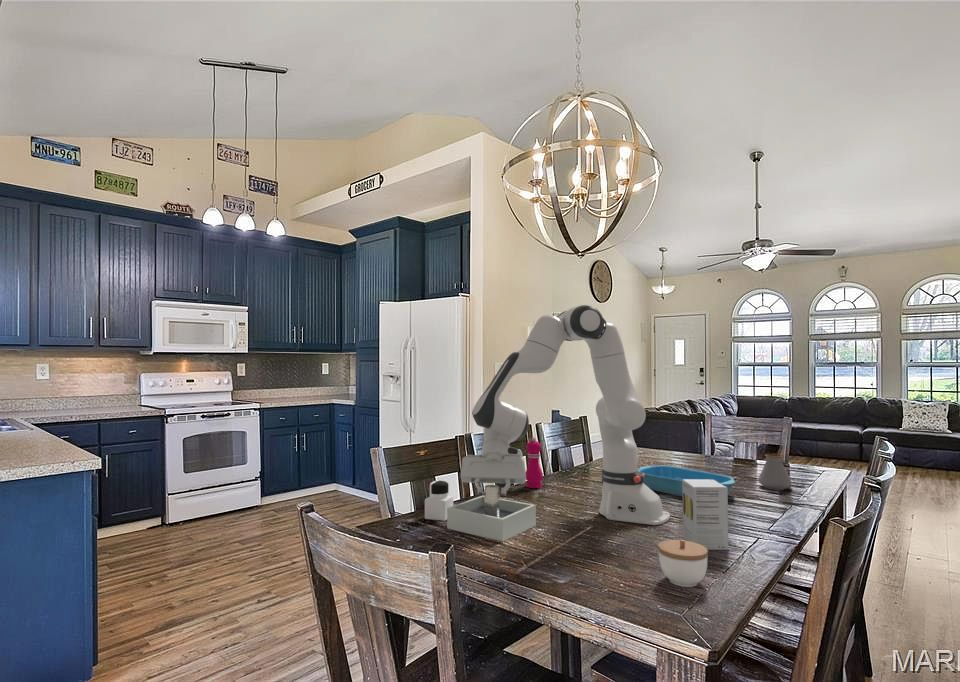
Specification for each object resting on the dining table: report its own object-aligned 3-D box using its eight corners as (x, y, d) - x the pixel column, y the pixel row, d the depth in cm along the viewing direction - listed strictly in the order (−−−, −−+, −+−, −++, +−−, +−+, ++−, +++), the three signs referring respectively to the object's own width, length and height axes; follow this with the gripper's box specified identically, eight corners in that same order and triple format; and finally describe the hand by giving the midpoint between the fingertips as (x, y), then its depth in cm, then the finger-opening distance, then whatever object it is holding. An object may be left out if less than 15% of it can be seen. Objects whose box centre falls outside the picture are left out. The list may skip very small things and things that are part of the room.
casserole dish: (746, 495, 199) (745, 476, 199) (718, 506, 184) (718, 486, 184) (656, 479, 227) (656, 462, 227) (626, 488, 212) (626, 470, 212)
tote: (536, 528, 161) (535, 505, 161) (503, 545, 146) (502, 519, 147) (482, 517, 173) (482, 495, 173) (447, 531, 158) (447, 508, 158)
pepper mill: (542, 489, 209) (541, 438, 210) (524, 488, 210) (523, 438, 211) (543, 485, 216) (543, 436, 217) (526, 484, 217) (525, 435, 218)
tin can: (502, 516, 160) (502, 486, 160) (494, 519, 156) (493, 488, 157) (490, 513, 163) (490, 484, 163) (481, 517, 159) (481, 486, 159)
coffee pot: (788, 493, 201) (787, 453, 202) (755, 488, 209) (754, 450, 210) (799, 483, 218) (798, 446, 218) (768, 479, 225) (767, 443, 226)
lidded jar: (657, 570, 128) (657, 530, 129) (705, 575, 125) (704, 534, 126) (659, 588, 118) (658, 545, 119) (711, 594, 115) (710, 550, 115)
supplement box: (682, 538, 151) (681, 478, 152) (714, 538, 151) (713, 478, 152) (694, 550, 142) (693, 486, 142) (729, 550, 141) (728, 486, 142)
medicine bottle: (453, 517, 173) (453, 480, 173) (445, 523, 166) (445, 485, 166) (433, 515, 175) (433, 478, 175) (424, 521, 168) (424, 483, 169)
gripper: (461, 449, 169) (456, 487, 159) (526, 450, 166) (524, 489, 156) (464, 460, 173) (458, 498, 163) (527, 461, 170) (525, 500, 160)
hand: (491, 494), depth 159 cm, fingers open, 6 cm apart
